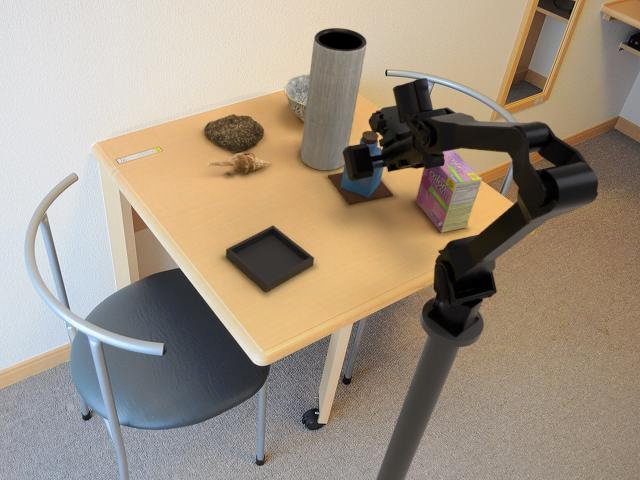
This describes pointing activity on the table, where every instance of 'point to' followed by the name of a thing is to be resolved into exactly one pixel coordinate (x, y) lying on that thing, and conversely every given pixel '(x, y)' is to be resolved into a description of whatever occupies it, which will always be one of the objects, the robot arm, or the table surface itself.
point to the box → (449, 192)
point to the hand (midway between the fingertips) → (372, 165)
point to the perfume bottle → (370, 184)
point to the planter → (332, 96)
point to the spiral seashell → (242, 162)
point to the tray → (269, 258)
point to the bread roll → (234, 132)
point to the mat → (355, 198)
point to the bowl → (297, 94)
